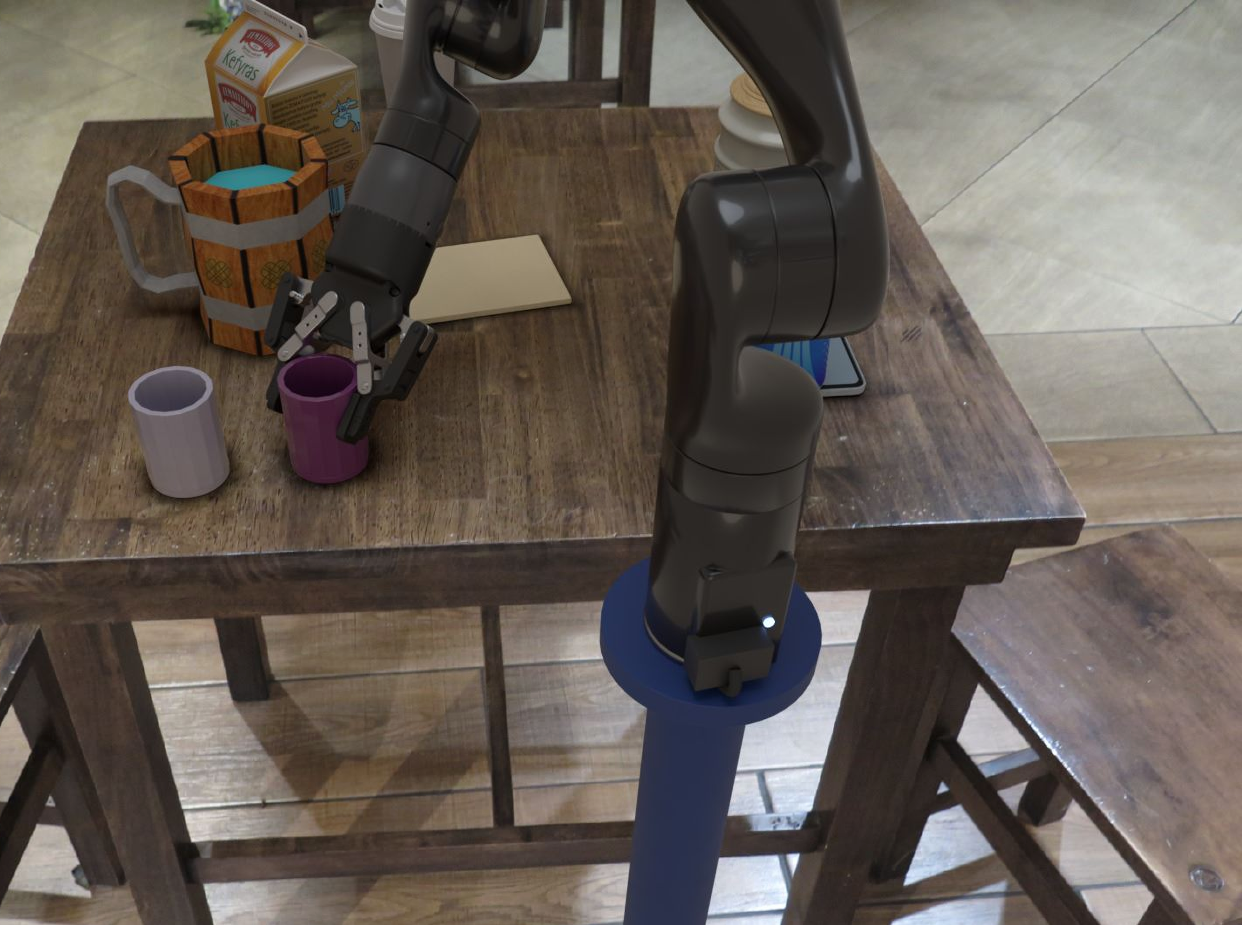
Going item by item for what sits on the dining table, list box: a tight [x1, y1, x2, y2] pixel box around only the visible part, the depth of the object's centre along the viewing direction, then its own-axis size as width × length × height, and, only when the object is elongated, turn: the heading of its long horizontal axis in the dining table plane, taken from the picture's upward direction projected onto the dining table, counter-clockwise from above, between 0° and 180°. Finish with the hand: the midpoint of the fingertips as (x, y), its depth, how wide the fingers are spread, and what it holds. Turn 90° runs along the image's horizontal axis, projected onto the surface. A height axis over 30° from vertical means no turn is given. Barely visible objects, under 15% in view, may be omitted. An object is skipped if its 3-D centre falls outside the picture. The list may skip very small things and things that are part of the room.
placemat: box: [409, 234, 572, 325], centre depth 120 cm, size 12×16×1 cm
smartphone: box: [820, 336, 867, 397], centre depth 112 cm, size 7×1×15 cm
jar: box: [712, 71, 789, 172], centre depth 121 cm, size 13×13×18 cm
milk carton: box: [204, 0, 367, 218], centre depth 124 cm, size 11×11×19 cm
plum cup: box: [277, 352, 370, 485], centre depth 98 cm, size 6×6×8 cm
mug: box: [104, 123, 335, 357], centre depth 111 cm, size 20×14×15 cm
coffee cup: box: [368, 0, 456, 107], centre depth 135 cm, size 10×10×15 cm
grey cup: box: [127, 365, 231, 499], centre depth 97 cm, size 6×6×8 cm
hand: (310, 426), depth 97 cm, fingers closed on plum cup, 6 cm apart
